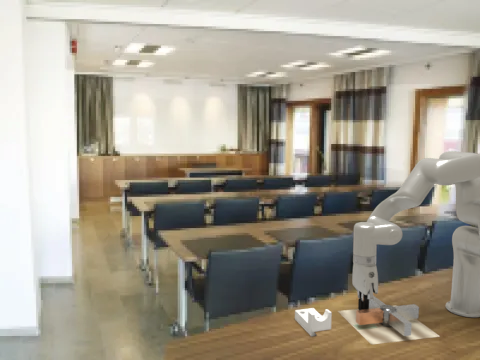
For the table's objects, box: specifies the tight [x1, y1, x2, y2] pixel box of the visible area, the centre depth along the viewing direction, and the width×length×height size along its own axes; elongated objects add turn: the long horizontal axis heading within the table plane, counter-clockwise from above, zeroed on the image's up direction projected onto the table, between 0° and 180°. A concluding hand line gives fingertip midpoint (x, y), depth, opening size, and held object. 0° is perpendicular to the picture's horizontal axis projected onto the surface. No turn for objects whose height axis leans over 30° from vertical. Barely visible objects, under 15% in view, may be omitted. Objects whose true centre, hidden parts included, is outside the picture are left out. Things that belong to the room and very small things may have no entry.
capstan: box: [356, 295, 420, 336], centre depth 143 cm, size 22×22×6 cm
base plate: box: [337, 304, 441, 345], centre depth 145 cm, size 24×24×2 cm
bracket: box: [294, 307, 333, 337], centre depth 145 cm, size 13×7×8 cm, turn 17°
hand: (363, 310), depth 147 cm, fingers closed
